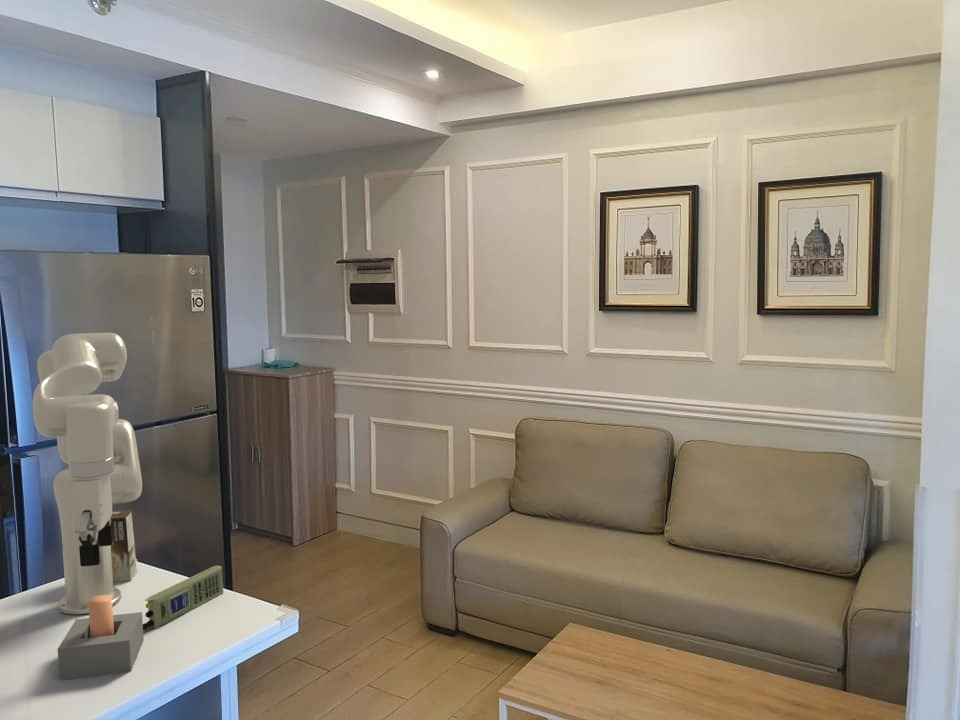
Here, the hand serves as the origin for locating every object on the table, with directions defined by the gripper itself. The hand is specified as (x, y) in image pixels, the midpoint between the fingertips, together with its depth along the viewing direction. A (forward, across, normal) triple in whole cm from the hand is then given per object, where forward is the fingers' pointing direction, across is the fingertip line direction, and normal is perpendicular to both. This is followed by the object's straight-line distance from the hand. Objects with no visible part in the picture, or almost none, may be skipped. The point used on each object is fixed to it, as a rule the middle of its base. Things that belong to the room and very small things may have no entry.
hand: (97, 555), depth 137 cm
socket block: (+21, +1, 0) cm, 21 cm away
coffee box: (+22, -41, -7) cm, 47 cm away
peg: (+21, +1, 0) cm, 21 cm away
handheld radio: (+21, -16, +11) cm, 29 cm away
